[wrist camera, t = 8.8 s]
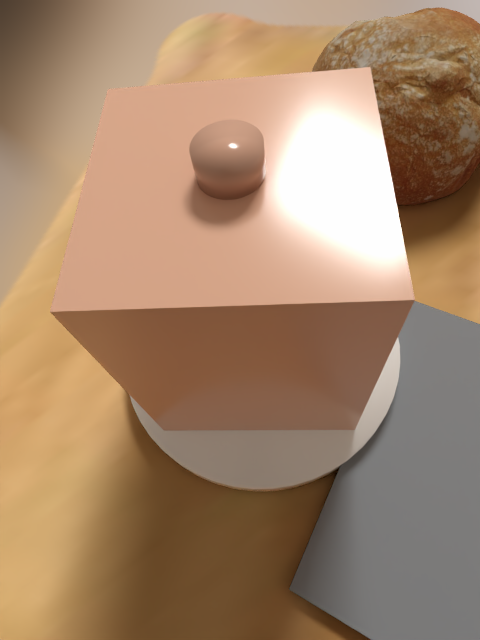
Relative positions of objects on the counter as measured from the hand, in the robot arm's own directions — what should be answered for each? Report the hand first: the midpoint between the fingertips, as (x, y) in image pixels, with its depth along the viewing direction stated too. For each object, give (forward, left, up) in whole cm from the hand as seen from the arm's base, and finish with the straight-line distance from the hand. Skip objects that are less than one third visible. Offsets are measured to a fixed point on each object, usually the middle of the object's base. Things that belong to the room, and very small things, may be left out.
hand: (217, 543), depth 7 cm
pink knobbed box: (+4, +6, -8) cm, 11 cm away
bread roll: (+18, +12, -10) cm, 24 cm away
